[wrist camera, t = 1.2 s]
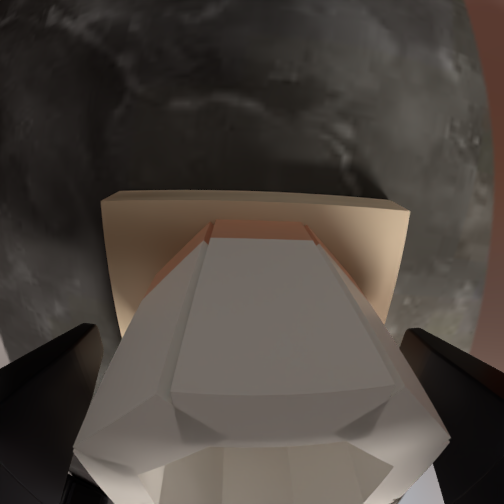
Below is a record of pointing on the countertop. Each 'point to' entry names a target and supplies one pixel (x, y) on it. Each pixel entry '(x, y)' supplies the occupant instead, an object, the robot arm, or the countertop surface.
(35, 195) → the countertop surface
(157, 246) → the pin board
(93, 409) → the sleeve
